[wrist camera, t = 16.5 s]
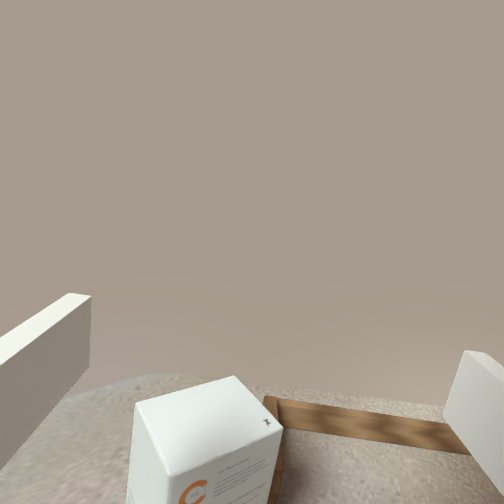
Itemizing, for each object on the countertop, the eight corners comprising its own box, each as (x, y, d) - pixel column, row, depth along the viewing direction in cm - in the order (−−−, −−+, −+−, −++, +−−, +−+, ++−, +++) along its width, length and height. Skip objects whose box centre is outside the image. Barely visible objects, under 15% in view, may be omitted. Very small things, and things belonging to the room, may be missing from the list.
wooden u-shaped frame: (492, 451, 42) (520, 384, 40) (576, 548, 31) (621, 463, 29) (260, 416, 41) (274, 345, 39) (262, 503, 30) (282, 411, 28)
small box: (212, 499, 29) (235, 372, 26) (254, 573, 24) (287, 427, 21) (118, 549, 24) (133, 399, 21) (145, 653, 19) (170, 478, 17)
